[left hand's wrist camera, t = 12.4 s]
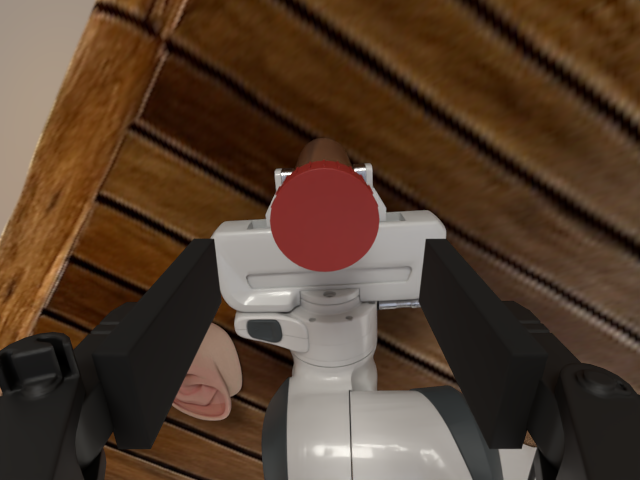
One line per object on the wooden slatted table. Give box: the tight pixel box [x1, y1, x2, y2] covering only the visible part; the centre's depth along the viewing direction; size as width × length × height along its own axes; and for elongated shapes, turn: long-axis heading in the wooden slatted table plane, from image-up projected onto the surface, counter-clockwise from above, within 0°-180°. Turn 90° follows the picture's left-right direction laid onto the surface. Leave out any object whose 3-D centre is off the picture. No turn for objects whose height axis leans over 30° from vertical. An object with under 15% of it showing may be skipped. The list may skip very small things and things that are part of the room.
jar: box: [294, 138, 354, 171], centre depth 28 cm, size 5×5×18 cm
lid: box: [270, 160, 380, 272], centre depth 20 cm, size 6×6×2 cm
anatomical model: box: [172, 323, 242, 420], centre depth 43 cm, size 13×4×12 cm
